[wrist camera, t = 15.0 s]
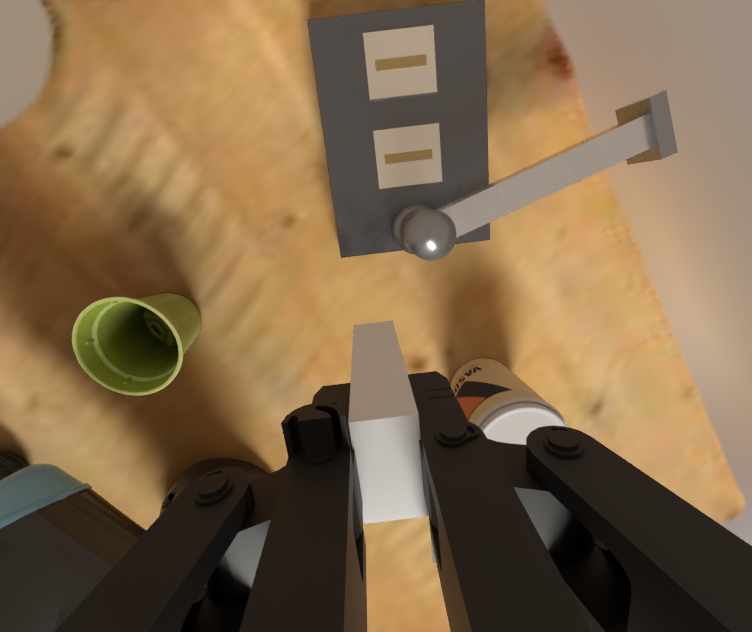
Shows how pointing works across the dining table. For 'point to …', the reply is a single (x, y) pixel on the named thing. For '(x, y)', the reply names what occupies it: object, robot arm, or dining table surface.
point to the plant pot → (135, 341)
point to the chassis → (401, 116)
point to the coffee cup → (501, 402)
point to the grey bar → (545, 177)
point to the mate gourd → (10, 464)
